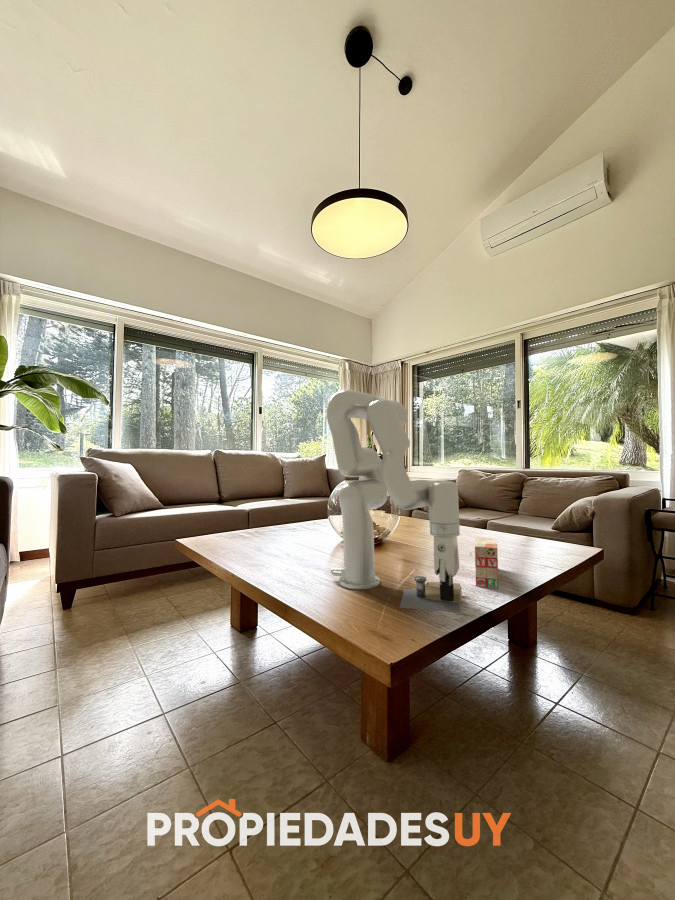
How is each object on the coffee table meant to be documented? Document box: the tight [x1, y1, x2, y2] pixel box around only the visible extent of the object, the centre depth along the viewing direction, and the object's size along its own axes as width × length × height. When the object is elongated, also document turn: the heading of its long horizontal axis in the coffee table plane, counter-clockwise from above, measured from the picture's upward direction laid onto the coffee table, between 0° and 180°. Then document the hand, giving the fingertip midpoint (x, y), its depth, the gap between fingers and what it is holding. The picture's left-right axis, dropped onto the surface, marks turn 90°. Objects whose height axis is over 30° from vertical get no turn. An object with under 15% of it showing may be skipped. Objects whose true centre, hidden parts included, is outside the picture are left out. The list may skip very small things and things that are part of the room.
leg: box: [425, 581, 463, 604], centre depth 101 cm, size 3×9×4 cm, turn 64°
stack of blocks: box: [474, 537, 499, 589], centre depth 120 cm, size 21×6×12 cm, turn 159°
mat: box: [399, 588, 462, 613], centre depth 101 cm, size 15×14×1 cm
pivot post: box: [414, 575, 428, 598], centre depth 104 cm, size 3×3×5 cm
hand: (447, 599), depth 97 cm, fingers closed
